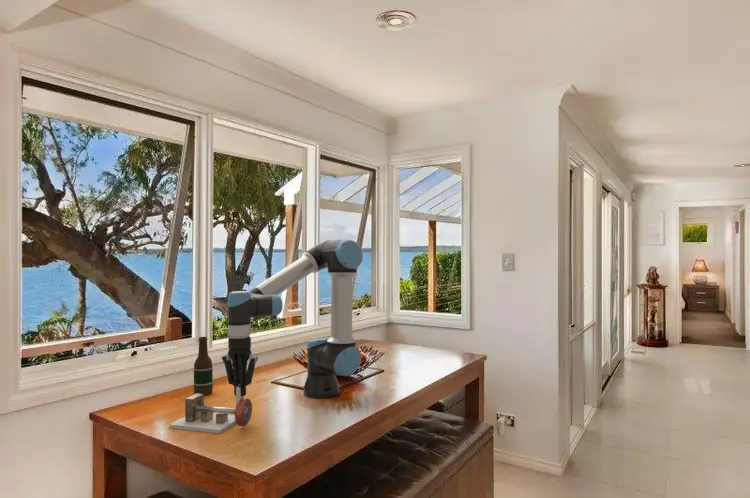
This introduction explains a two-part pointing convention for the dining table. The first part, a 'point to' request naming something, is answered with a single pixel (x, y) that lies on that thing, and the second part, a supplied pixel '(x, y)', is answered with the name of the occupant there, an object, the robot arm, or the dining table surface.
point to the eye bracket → (205, 416)
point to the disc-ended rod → (233, 411)
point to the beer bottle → (203, 370)
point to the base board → (204, 424)
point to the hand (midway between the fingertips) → (240, 405)
